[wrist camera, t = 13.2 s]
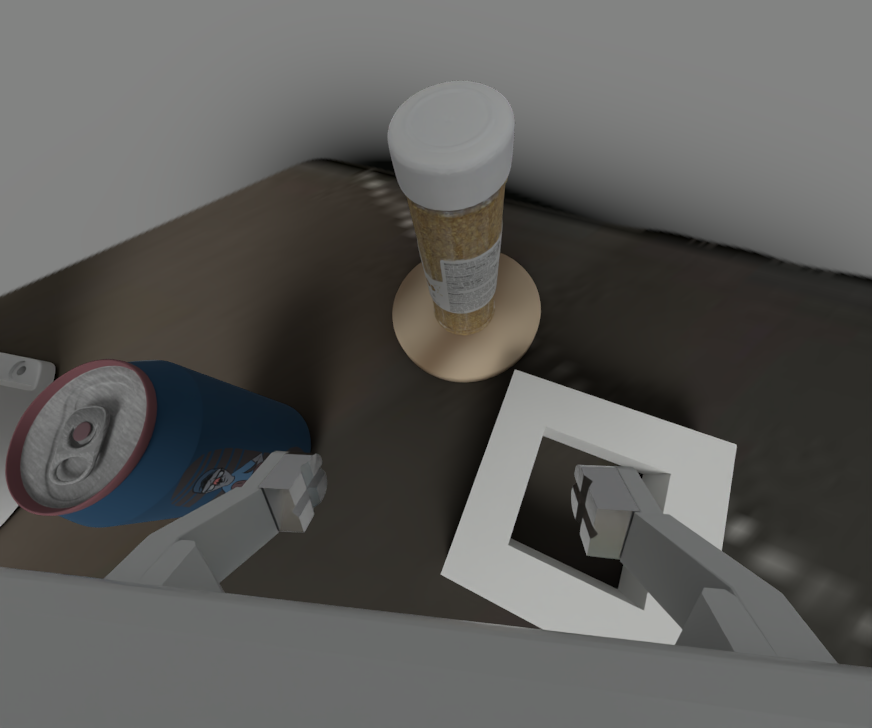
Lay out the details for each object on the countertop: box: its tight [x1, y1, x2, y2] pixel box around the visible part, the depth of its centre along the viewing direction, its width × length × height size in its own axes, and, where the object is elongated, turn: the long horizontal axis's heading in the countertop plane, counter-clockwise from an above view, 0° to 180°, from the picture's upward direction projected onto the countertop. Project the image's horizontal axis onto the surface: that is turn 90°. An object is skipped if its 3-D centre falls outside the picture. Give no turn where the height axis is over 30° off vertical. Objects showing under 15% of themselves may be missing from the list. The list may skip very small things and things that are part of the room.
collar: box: [441, 370, 737, 645], centre depth 18 cm, size 12×12×3 cm
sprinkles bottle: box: [387, 81, 515, 335], centre depth 17 cm, size 5×5×13 cm
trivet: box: [392, 253, 541, 383], centre depth 24 cm, size 11×11×1 cm
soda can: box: [5, 359, 311, 527], centre depth 17 cm, size 7×7×12 cm
